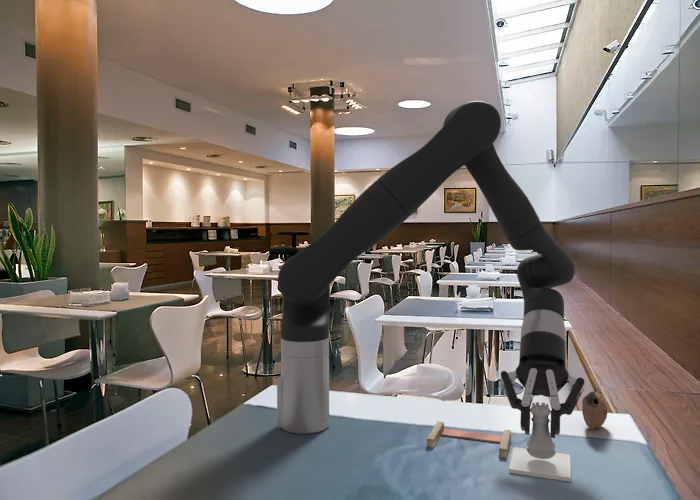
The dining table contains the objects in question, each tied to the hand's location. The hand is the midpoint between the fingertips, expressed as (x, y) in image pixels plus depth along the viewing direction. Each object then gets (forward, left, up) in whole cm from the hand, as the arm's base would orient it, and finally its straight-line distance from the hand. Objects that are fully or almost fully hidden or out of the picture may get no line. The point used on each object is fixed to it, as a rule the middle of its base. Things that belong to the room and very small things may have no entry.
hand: (540, 433), depth 86 cm
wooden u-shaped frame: (-12, +7, -6) cm, 15 cm away
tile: (0, +2, -6) cm, 6 cm away
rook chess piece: (0, +2, -4) cm, 5 cm away
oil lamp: (+9, +22, -6) cm, 24 cm away
